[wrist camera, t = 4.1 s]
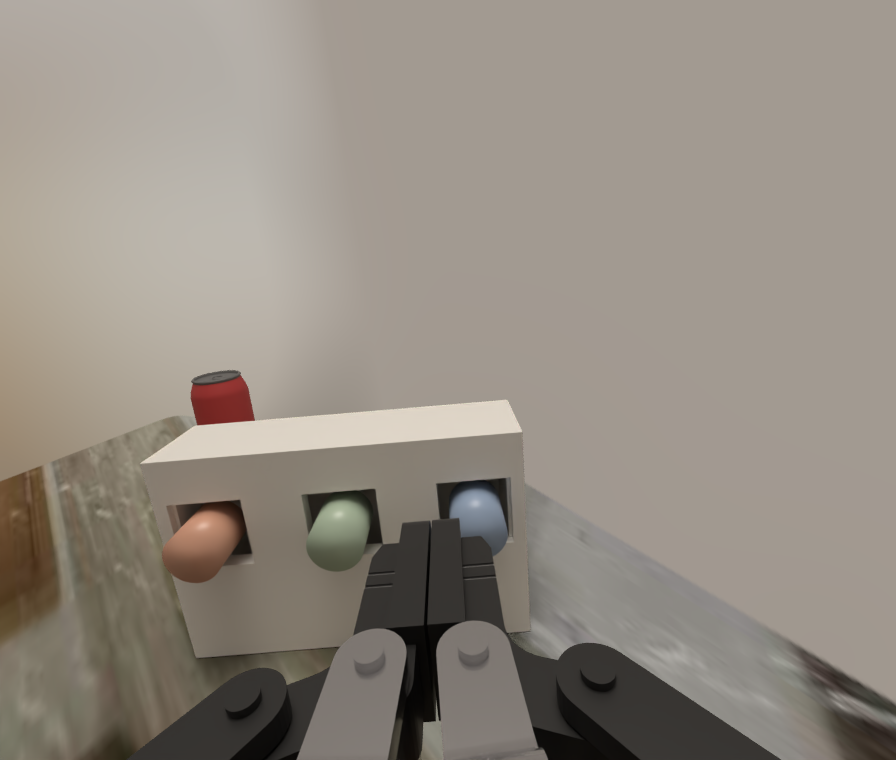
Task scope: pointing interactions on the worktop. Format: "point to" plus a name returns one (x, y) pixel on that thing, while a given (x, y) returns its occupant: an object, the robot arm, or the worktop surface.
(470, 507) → the blue button
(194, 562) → the terracotta button
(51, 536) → the worktop surface
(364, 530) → the sage button
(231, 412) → the beer can
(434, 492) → the console
